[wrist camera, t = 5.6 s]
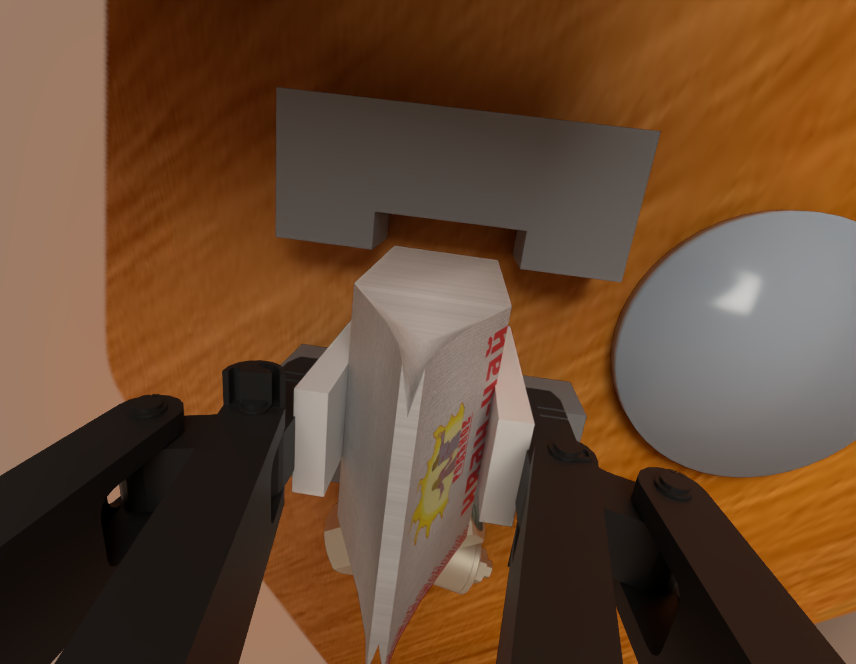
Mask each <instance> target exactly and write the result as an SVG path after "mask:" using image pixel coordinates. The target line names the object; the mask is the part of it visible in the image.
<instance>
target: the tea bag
mask: <svg viewBox="0 0 856 664" xmlns="http://www.w3.org/2000/svg"><path fill="white" fill-rule="evenodd" d="M511 308H512V305H511V302H510V299H509V295H508V292H507V289H506V285H505V282H504V279H503V275H502V272H501V269H500V265H499V262H498V260H493V259H486V258H479V257H472V256H465V255H458V254H451V253H444V252H437V251H430V250H423V249H416V248H409V247H402V246H394V247H393V248H391V249H390V250H389V251H388V252H387V253H386V254H385V255H384V256H383V257H382V258H381V259H380V260H379V261H377V262H376V263H375V264H374V265H373V266H372V267H371V268H370V269H369V270H368V271H367V272H366V273H364V274H363V275H362V276H361V277H360V278H359V279H358V280H357V281H356V282H355V283H354V292H353V305H352V319H351V333H350V347H349V360H348V376H347V391H346V406H345V421H344V436H343V451H342V458H341V470H340V484H339V498H338V511H337V516H338V520H339V523H340V527H341V531H342V535H343V538H344V542H345V546H346V550H347V553H348V557H349V561H350V565H351V568H352V572H353V576H354V580H355V584H356V587H357V591H358V596H359V602H360V608H361V614H362V620H363V626H364V631H365V637H366V664H371V661H372V659H373V657H374V654H375V652H376V649H377V647H378V644H379V649H380V657H381V664H389V662H390V660H391V657H392V654H393V652H394V649H395V647H396V644H397V642H398V640H399V638H400V637H401V635H402V633H403V631H404V630H405V628H406V626H407V624H408V622H409V621H410V619H411V617H412V615H413V614H414V612H415V610H416V608H417V607H418V605H419V603H420V602H421V600H422V599H423V597H424V596H425V595H426V593H427V592H428V590H429V589H430V588H431V586H432V585H433V583H434V582H435V581H436V579H437V578H438V576H439V575H440V574H441V572H442V571H443V569H444V568H445V566H446V565H447V564H448V562H449V561H450V559H451V558H452V557H453V555H454V554H455V552H456V551H457V550H458V548H459V547H460V545H461V544H462V543H463V541H464V540H465V538H466V537H467V532H468V527H469V522H470V517H471V512H472V507H473V502H474V497H475V492H476V486H477V481H478V475H479V470H480V464H481V459H482V454H483V448H484V443H485V438H486V432H487V427H488V421H489V416H490V411H491V405H492V400H493V395H494V389H495V385H496V384H497V379H498V374H499V369H500V364H501V359H502V354H503V349H504V343H505V338H506V333H507V328H508V323H509V318H510V313H511Z"/></svg>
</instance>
